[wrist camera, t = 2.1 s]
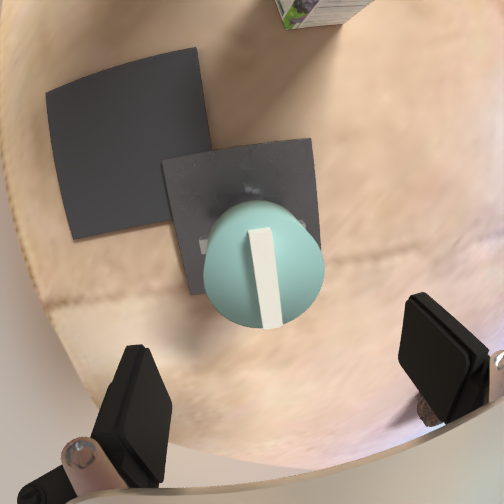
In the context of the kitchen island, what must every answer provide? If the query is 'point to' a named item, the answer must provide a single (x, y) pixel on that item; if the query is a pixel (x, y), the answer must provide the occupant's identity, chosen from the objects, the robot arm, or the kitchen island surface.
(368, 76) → the kitchen island surface
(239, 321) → the cap
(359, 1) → the syrup box
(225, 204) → the dark grey square-based fixture
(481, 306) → the kitchen island surface
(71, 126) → the pad
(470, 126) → the kitchen island surface
